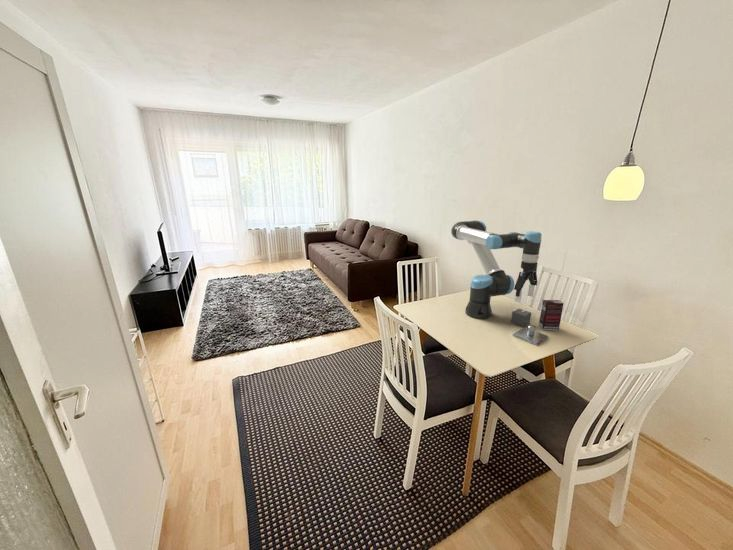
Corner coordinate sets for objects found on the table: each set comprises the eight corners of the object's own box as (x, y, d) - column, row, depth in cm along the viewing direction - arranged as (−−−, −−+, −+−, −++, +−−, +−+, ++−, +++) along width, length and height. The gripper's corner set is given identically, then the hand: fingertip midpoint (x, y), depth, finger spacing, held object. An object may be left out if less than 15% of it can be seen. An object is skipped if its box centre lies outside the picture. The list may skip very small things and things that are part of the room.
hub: (512, 335, 153) (513, 325, 151) (524, 329, 160) (525, 319, 158) (536, 345, 144) (538, 334, 142) (547, 338, 150) (549, 327, 148)
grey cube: (510, 322, 167) (512, 311, 165) (517, 319, 171) (518, 308, 169) (523, 327, 162) (524, 315, 159) (529, 323, 165) (531, 312, 163)
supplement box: (554, 326, 162) (559, 299, 157) (558, 330, 157) (564, 303, 153) (537, 326, 163) (542, 299, 158) (541, 330, 158) (546, 302, 154)
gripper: (524, 266, 146) (518, 306, 152) (548, 258, 159) (542, 295, 166) (509, 263, 151) (505, 302, 158) (534, 256, 165) (528, 292, 171)
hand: (524, 298), depth 162 cm, fingers open, 13 cm apart
